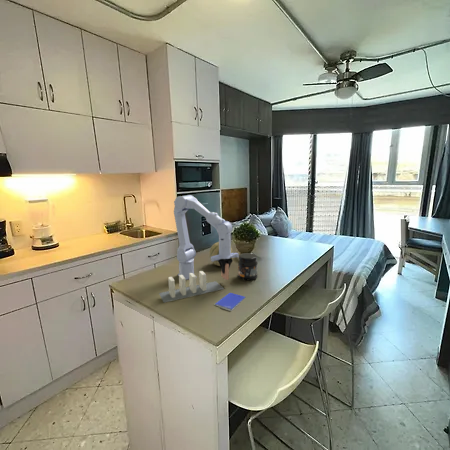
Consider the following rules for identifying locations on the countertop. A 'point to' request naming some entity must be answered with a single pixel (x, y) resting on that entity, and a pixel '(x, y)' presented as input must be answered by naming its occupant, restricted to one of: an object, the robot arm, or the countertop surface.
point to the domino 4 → (202, 280)
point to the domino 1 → (171, 287)
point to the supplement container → (247, 266)
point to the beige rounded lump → (215, 252)
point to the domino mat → (209, 288)
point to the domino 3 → (192, 282)
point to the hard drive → (230, 301)
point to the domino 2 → (182, 284)
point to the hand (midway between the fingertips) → (225, 272)
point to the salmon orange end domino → (226, 272)
